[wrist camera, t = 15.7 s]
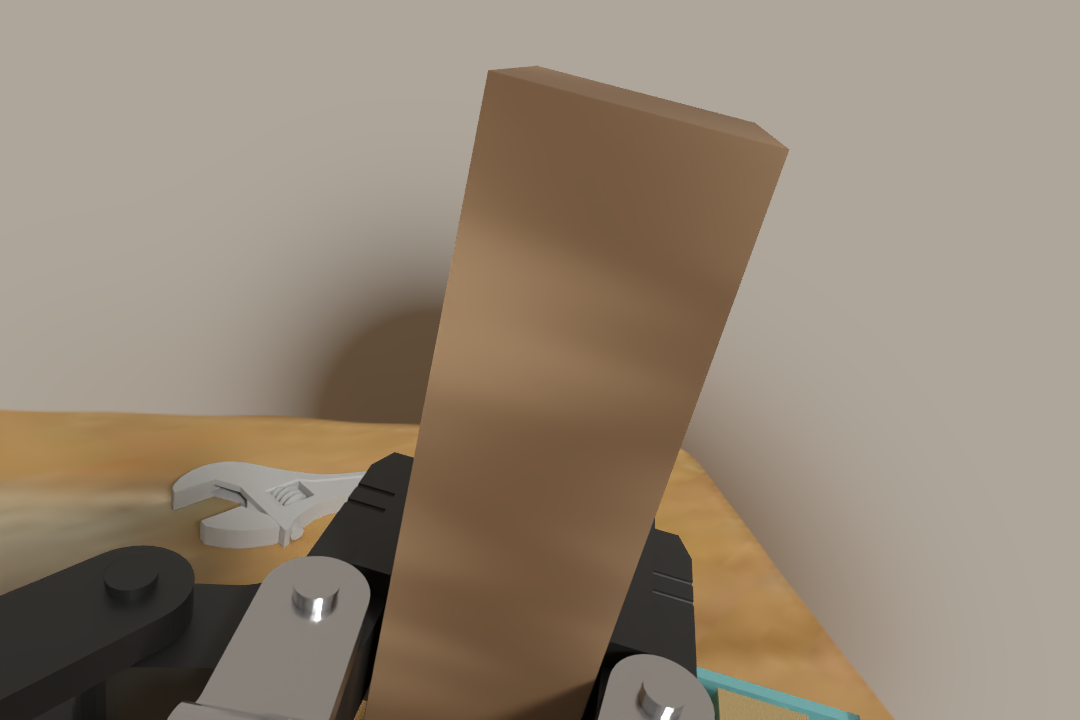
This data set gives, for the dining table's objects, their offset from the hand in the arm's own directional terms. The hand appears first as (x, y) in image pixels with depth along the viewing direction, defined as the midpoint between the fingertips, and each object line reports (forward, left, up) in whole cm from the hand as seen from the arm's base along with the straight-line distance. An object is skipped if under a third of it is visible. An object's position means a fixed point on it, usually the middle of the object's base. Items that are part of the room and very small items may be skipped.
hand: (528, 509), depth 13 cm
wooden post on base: (+2, -3, -10) cm, 10 cm away
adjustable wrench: (-20, +18, -22) cm, 35 cm away
